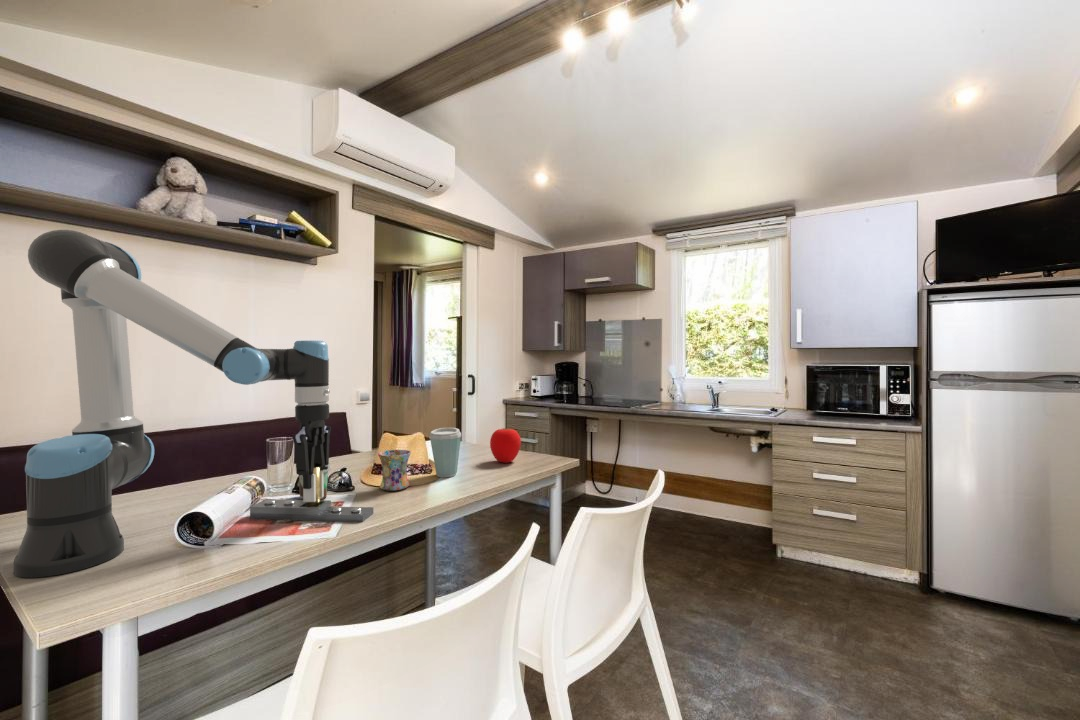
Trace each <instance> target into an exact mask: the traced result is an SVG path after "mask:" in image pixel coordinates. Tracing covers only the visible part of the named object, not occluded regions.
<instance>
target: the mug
mask: <svg viewBox="0 0 1080 720" xmlns="http://www.w3.org/2000/svg"><path fill="white" fill-rule="evenodd" d="M377 454H378V457H379V460H380V463H381V467H382V479H381V482H380V484H379V488H380V489H381V490H383V491H391V492H392V491H402V490H405V489H406V488H408V487H409V486H410V481H409V479H408V474H407V466H408V462H409V458H410V456H411V454H412V452H411V450H408V449H389V450H384V451H380V452H378V453H377Z"/></svg>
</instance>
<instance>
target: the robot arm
mask: <svg viewBox="0 0 1080 720" xmlns="http://www.w3.org/2000/svg"><path fill="white" fill-rule="evenodd" d="M27 259H28V264H29V265H30V267H31V269H32V270H33V272H34V273H35V274H36V275H37V276H38V277H39V278H41V279H42V281H43V280H44V281H45V282H46V283H49V284H51V285H53V286H55V287H57V288H59V289H60V297H61V302H62V303H63V304H64V305H66V306H67V307H69V308H70V309H71V310H72V320H73V334H74V335H73V336H74V347H75V357H76V359H75V360H76V371H77V383H78V384H77V385H78V394H79V395H78V396H79V397H78V398H79V407H80V409H79V410H80V422H79V423H78V424H77V425H76V426H74V427H73V429H72V430H71V433H72V434H71V435H66V436H62V437H61V438H60V437H57V438H56V437H54V438H51V439H47V440H45V441H42V442H39V443H36V444H35V445H34V446H32V447H31V448H30V449H28V451H27V454H26V463H25V465H24V473H25V480H26V481H25V486H26V487H25V489H26V490H25V491H26V524H27V525H26V531H25V533H24V536H23V537H22V539H21V540H22V541H21V543H20V546H19V549H18V553H17V554H16V555H15V557H14V559H13V565H12V566H13V574H14V576H16V577H19V578H33V579H34V578H43V577H44V578H45V577H46V578H47V577H52V576H59V575H63V574H69V573H72V572H76V571H81V570H84V569H87V568H92V567H94V566H95V567H96V566H97V565H100V564H103V563H105V562H108V561H110V560H112V559H114V558H116V557H118V556H119V555H121V554H122V553H123V551H124V550H125V549H124V548H125V544H124V543H125V541H124V540H125V539H124V536H123V534H122V533H120V528H119V526H118V524H117V522H116V519H115V517H114V514H113V507H112V505H113V504H112V501H113V500H112V499H113V497H112V495H113V494H112V490H114V489H116V488H119V487H121V486H123V485H126V484H128V483H131V482H133V481H134V480H135V479H138V478H139V477H140V476H141V475H142V474H144V473H145V472H146V471H147V470H148V468H149V467H150V466H151V464H152V463H153V461H154V456H155V446H154V443H153V441H152V439H151V438H150V437H149V436H147V434H145V430H144V422H143V421H142V420H140V419H139V418H137V417H136V416H135V415H134V401H133V399H134V398H133V389H132V388H133V387H132V375H131V364H130V362H131V361H130V360H131V359H130V350H129V337H128V336H129V335H128V323H127V319H128V320H129V321H131V322H132V323H135V324H136V325H138V326H140V327H142V328H144V329H145V330H147V331H149V332H151V333H152V334H154V335H155V336H158V337H159V338H162V339H163V340H165V341H167V342H168V343H170V344H173V345H174V346H176V347H178V348H180V349H181V350H183V351H185V352H187V353H189V354H190V355H193V356H194V357H196V358H197V359H200V360H201V361H202V362H205V363H207V364H209V365H210V366H213V367H214V368H215V369H218V370H219V371H221V372H222V373H223V374H224V375H225V377H227V379H228V380H230V381H231V382H233V383H235V384H239V385H245V386H246V385H247V386H248V385H255V384H259V383H260V382H261V383H262V382H266V381H283V380H284V381H285V380H287V381H291V380H294V402H295V403H296V405H295V407H294V413H295V414H294V416H295V417H294V418H295V420H296V421H297V422H300V426H299V432H298V433H294V434H292V441H293V444H294V455H295V468H296V469H295V470H296V475H297V476H299V475H303V498H302V500H303V502H315V501H316V474H313V469H314V466H319V467H320V497H324V476H323V470H327V469H328V466H326V465H328V464H329V463H330V435H331V430H332V427H331V426H329V425H326V421H325V420H328V419H329V418H330V405H329V403H328V402H329V400H330V396H329V395H330V390H329V385H330V384H329V381H330V380H329V377H330V376H329V375H330V374H329V370H330V369H329V367H330V365H329V364H330V363H329V361H330V358H329V349H328V348H329V347H328V344H327V343H326V342H325V341H323V340H296V341H294V343H293V346H292V347H293V348H257V347H255V346H253V345H251V344H250V343H248V342H247V341H245V340H243V339H241V338H239V337H238V336H236V335H234V334H233V333H231V332H229V331H227V330H225V329H224V328H222V327H220V326H219V325H218V324H216V323H214V322H212V321H210V320H208V319H207V318H205V317H204V316H202V315H200V314H198V313H197V312H195V311H193V310H192V309H190V308H188V307H186V306H185V305H183V304H181V303H179V302H177V301H176V300H174V299H173V298H171V297H169V296H168V295H165V294H164V293H162V292H160V291H159V290H157V289H155V288H153V287H152V286H150V285H148V284H146V283H145V282H143V281H142V270H141V268H140V264H139V262H137V260H136V259H135V257H133V255H131V253H129V252H127V250H124V249H123V248H122V247H120V246H118V245H116V244H113V243H111V242H108V241H103V240H100V239H98V238H96V237H93V236H91V235H88V234H87V233H84V232H80V231H77V230H71V229H55V230H49V231H46V232H44V233H42V234H40V235H38V236H37V237H35V239H33V241H32V242H31V244H30V245H29V248H28V250H27Z"/></svg>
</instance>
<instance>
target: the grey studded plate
mask: <svg viewBox="0 0 1080 720" xmlns="http://www.w3.org/2000/svg"><path fill="white" fill-rule="evenodd" d="M373 514H374V506H373V507H371V506H369V507H368V506H366V507H365V506H332V501H331V500H326V499H325V500H320V505H319V506H317V507H307V502H303V499H274V498H273V499H270V498H269V499H268V498H266V499H265V498H264V499H263V500H261V501H259V502H257V503H255V504H253V505H251V506H249V519H250V520H268V521H270V520H271V521H273V520H274V521H305V522H306V521H316V522H350V523H351V522H355V523H357V522H359V523H363V522H365V521H366V520H367V519H369V518H370V516H372V515H373Z"/></svg>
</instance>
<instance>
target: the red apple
mask: <svg viewBox="0 0 1080 720" xmlns="http://www.w3.org/2000/svg"><path fill="white" fill-rule="evenodd" d="M489 440H490V441H489V448H490V451H491V453H492V456H493V458H494V459H496V461H498V462H499V463H503V464H509V463H511V462H513V461H514V460H515V459H516V457H517V456H518V454H519V452H520V449H521V445H522V444H521V443H522V439H521V436H520V434H519V433H518V431H517V430H516V429H514V428H509V427H507V426H505V428H499V429H496V430H494V432H493V433H492V434H491V436H490V439H489Z"/></svg>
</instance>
